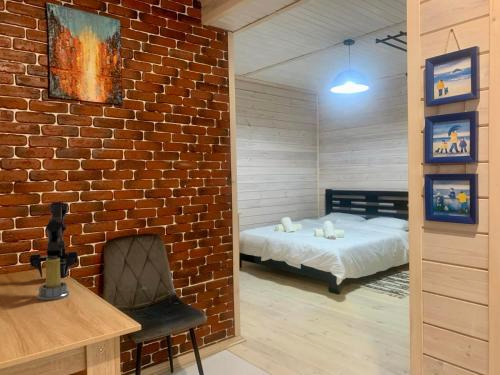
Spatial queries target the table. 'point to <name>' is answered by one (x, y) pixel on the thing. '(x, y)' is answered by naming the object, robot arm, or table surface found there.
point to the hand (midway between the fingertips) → (53, 275)
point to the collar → (52, 292)
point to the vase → (53, 272)
